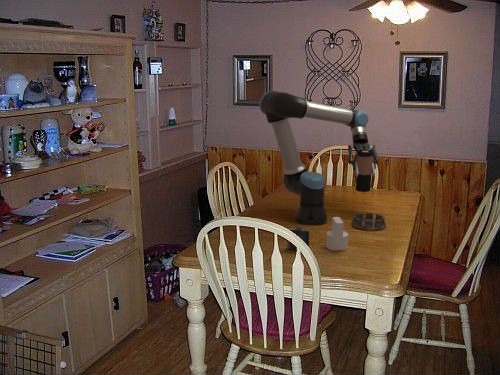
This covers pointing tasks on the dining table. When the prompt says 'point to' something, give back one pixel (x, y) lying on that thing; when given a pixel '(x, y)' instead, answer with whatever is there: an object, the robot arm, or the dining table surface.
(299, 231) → the flask
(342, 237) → the base with upright slab
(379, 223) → the ring collar holder
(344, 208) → the dining table surface
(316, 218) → the robot arm
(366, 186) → the travel mug
